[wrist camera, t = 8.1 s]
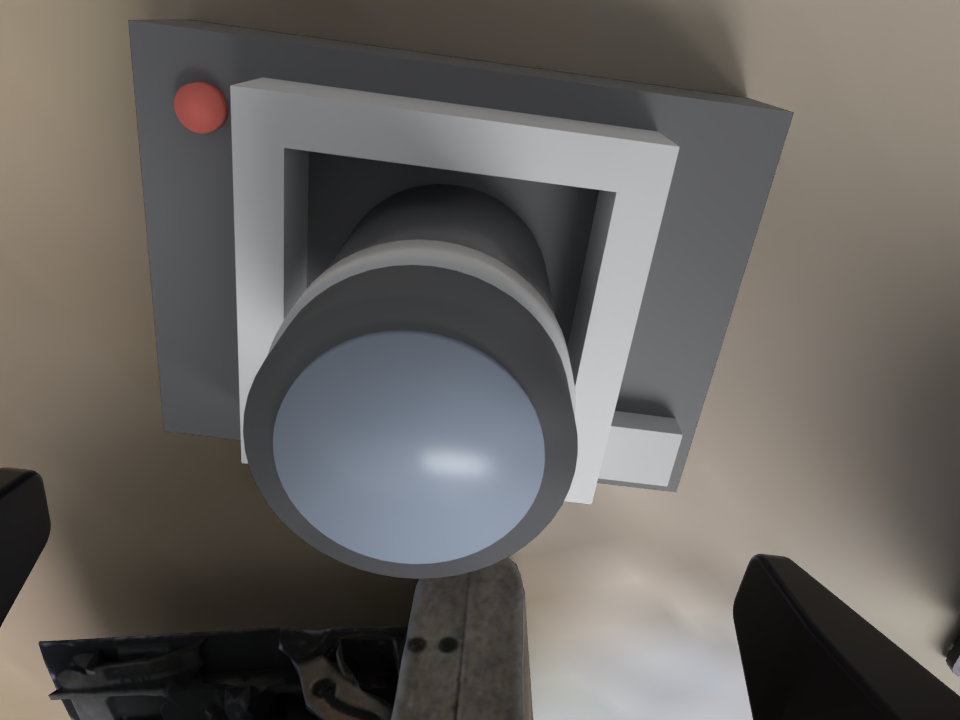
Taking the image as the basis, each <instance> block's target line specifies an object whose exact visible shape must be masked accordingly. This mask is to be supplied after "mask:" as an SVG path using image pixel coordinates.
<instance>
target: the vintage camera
mask: <svg viewBox="0 0 960 720" xmlns="http://www.w3.org/2000/svg"><path fill="white" fill-rule="evenodd" d="M39 646H40V649H41V652H42V656H43V659H44V662H45V664H46V667H47V669H48V671H49V673H50V676H51V678H52V680H53V682H54V684H55V687H56V689H57V690H56V691H54V692H53V693H51V694H50V695H49V697H50V699H51V700H59V699H61V700H62V702H63V704H64V706H65V708H66V710H67V712H68V714H69V716H70V718H71V720H533V712H532V697H531V682H530V667H529V652H528V637H527V622H526V606H525V592H524V588H523V583H522V579H521V575H520V572H519V570H518V567H517V565H516V564H515V563H514V562H513V561H512V560H511V559H510V558H509V557H507V558H505V559H503V560H501V561H499V562H497V563H495V564H492V565H490V566H487V567H484V568H481V569H479V570H476V571H472V572H468V573H464V574H460V575H456V576H448V577H441V578H424V579H419V580H418V583H417V585H416V589H415V594H414V598H413V604H412V609H411V614H410V619H409V624H408V627H335V628H328V629H322V630H301V629H288V628H261V629H245V630H229V631H210V632H192V633H180V634H165V635H146V636H129V637H112V638H96V639H80V640H60V641H40V642H39Z"/></svg>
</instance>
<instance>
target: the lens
mask: <svg viewBox="0 0 960 720" xmlns="http://www.w3.org/2000/svg"><path fill="white" fill-rule="evenodd" d="M575 411H576V392H575V385H574V379H573V373H572V368H571V364H570V359H569V354H568V349H567V346H566V342H565V339H564V336H563V333H562V330H561V328H560V326H559V324H558V322H557V320H556V318H555V312H554V307H553V302H552V297H551V292H550V286H549V281H548V276H547V271H546V266H545V262H544V258H543V255H542V252H541V250H540V247H539V245H538V243H537V241H536V239H535V237H534V236H533V234H532V233H531V231H530V230H529V228H528V227H527V226H526V224H525V223H524V222H523V221H522V220H521V219H520V217H519V216H518V215H516V214H515V213H514V212H513V211H512V210H511V209H510V208H509V207H507V206H506V205H504V204H503V203H501V202H500V201H498V200H497V199H495V198H493V197H491V196H489V195H487V194H485V193H483V192H480V191H477V190H474V189H471V188H468V187H463V186H458V185H450V184H431V185H422V186H418V187H413V188H409V189H406V190H404V191H401V192H398V193H396V194H394V195H392V196H390V197H388V198H386V199H385V200H383V201H382V202H380V203H379V204H377V205H376V206H375V207H373V208H372V209H371V210H370V211H369V212H368V213H367V214H366V215H365V216H364V217H363V218H362V219H361V221H360V222H359V223H358V224H357V226H356V227H355V228H354V230H353V231H352V233H351V234H350V236H349V237H348V239H347V240H346V242H345V243H344V245H343V246H342V248H341V249H340V250H339V252H338V253H337V255H336V256H335V258H334V259H333V261H332V262H331V264H330V265H329V267H328V268H327V270H325V271H324V272H323V273H322V274H321V275H320V276H319V277H318V278H317V279H316V280H315V281H313V282H312V283H311V285H310V286H309V287H308V288H307V290H306V291H305V292H304V293H303V295H302V296H301V297H300V298H299V300H298V301H297V303H296V304H295V305H294V307H293V308H292V310H291V311H290V312H289V314H288V315H287V317H286V318H285V320H284V321H283V323H282V325H281V326H280V328H279V330H278V331H277V333H276V335H275V337H274V339H273V342H272V344H271V347H270V349H269V352H268V355H267V358H266V359H265V361H264V362H263V364H262V366H261V367H260V369H259V371H258V373H257V374H256V376H255V378H254V381H253V383H252V386H251V388H250V391H249V393H248V397H247V401H246V406H245V411H244V422H243V437H244V447H245V453H246V457H247V461H248V464H249V468H250V471H251V473H252V476H253V478H254V480H255V483H256V485H257V487H258V489H259V490H260V492H261V494H262V496H263V497H264V499H265V501H266V502H267V504H268V505H269V506H270V507H271V509H272V510H273V511H274V513H275V514H276V515H277V516H278V518H279V519H280V520H281V521H282V522H283V523H284V524H285V525H286V526H287V527H288V528H289V529H290V530H291V531H292V532H294V533H295V534H296V535H297V536H299V537H300V538H301V539H302V540H304V541H305V542H306V543H308V544H309V545H311V546H312V547H314V548H315V549H317V550H319V551H320V552H322V553H323V554H325V555H327V556H329V557H331V558H333V559H335V560H337V561H339V562H342V563H344V564H347V565H349V566H352V567H355V568H357V569H360V570H364V571H368V572H372V573H375V574H380V575H386V576H392V577H398V578H414V579H424V578H441V577H448V576H456V575H460V574H464V573H468V572H472V571H476V570H479V569H481V568H484V567H487V566H490V565H492V564H495V563H497V562H499V561H501V560H503V559H505V558H507V557H509V556H511V555H512V554H514V553H515V552H517V551H518V550H520V549H521V548H523V547H524V546H526V545H527V544H528V543H529V542H530V541H532V540H533V539H534V538H535V537H536V536H538V535H539V534H540V533H541V532H542V530H543V529H544V528H545V527H546V526H547V525H548V524H549V523H550V522H551V521H552V519H553V518H554V516H555V515H556V513H557V512H558V510H559V509H560V507H561V506H562V504H563V502H564V500H565V498H566V496H567V494H568V492H569V490H570V487H571V483H572V480H573V477H574V474H575V469H576V462H577V455H578V435H577V429H576V423H575Z"/></svg>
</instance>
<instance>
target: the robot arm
mask: <svg viewBox="0 0 960 720" xmlns="http://www.w3.org/2000/svg"><path fill="white" fill-rule="evenodd" d="M50 527H51V523H50V516H49V511H48V506H47V500H46V495H45V489H44V484H43V480H42V478H41V476H40V475H39V474H38V473H37V472H35V471H33V470H26V469H17V468H0V627H1V625H2V623H3V621H4V619H5V618H6V616H7V614H8V612H9V610H10V608H11V607H12V605H13V603H14V601H15V599H16V598H17V596H18V594H19V592H20V590H21V588H22V587H23V585H24V583H25V581H26V579H27V578H28V576H29V574H30V572H31V570H32V568H33V567H34V565H35V563H36V561H37V559H38V558H39V556H40V554H41V552H42V550H43V548H44V547H45V545H46V543H47V540H48V537H49V534H50ZM733 618H734V624H735V629H736V635H737V640H738V645H739V650H740V655H741V660H742V665H743V671H744V676H745V681H746V686H747V691H748V696H749V702H750V707H751V712H752V717H753V720H960V696H959V695H957V694H956V693H955V692H954V691H953V690H951V689H950V688H949V687H948V686H946V685H945V684H944V683H943V682H941V681H940V680H939V679H938V678H936V677H935V676H934V675H933V674H932V673H930V672H929V671H928V670H927V669H925V668H924V667H923V666H922V665H920V664H919V663H918V662H917V661H915V660H914V659H913V658H912V657H911V656H909V655H908V654H907V653H906V652H904V651H903V650H902V649H901V648H899V647H898V646H897V645H896V644H895V643H893V642H892V641H891V640H890V639H888V638H887V637H886V636H885V635H883V634H882V633H881V632H880V631H878V630H877V629H876V628H875V627H874V626H872V625H871V624H870V623H869V622H867V621H866V620H865V619H864V618H862V617H861V616H860V615H859V614H857V613H856V612H855V611H854V610H853V609H851V608H850V607H849V606H848V605H846V604H845V603H844V602H843V601H841V600H840V599H839V598H838V597H836V596H835V595H834V594H833V593H832V592H830V591H829V590H828V589H827V588H825V587H824V586H823V585H822V584H820V583H819V582H818V581H817V580H815V579H814V578H813V577H812V576H811V575H809V574H808V573H807V572H806V571H804V570H803V569H802V568H801V567H799V566H798V565H797V564H796V563H794V562H793V561H792V560H791V559H789V558H787V557H783V556H775V555H767V554H757V555H755V556H753V557H752V558H751V560H750V562H749V564H748V566H747V569H746V572H745V574H744V577H743V579H742V582H741V584H740V587H739V590H738V592H737V595H736V597H735V601H734V606H733ZM946 662H947V664H948V666H949V667H950V669H951V670H952V672H953V673H954V674H955V675H956V676H960V636H959V638H958V640H957V641H956V643H955V645H954V646H953V648H952V650H951V651H950V653H949V655H948V656H947V659H946Z"/></svg>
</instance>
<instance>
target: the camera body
mask: <svg viewBox="0 0 960 720" xmlns="http://www.w3.org/2000/svg"><path fill="white" fill-rule="evenodd" d="M128 22H129V34H130V45H131V57H132V68H133V80H134V91H135V103H136V114H137V126H138V137H139V149H140V160H141V172H142V183H143V195H144V206H145V218H146V229H147V241H148V252H149V264H150V275H151V287H152V298H153V310H154V321H155V333H156V344H157V356H158V367H159V379H160V390H161V402H162V413H163V425H164V431H167V432H175V433H184V434H192V435H200V436H209V437H217V438H225V439H234V440H241V463H246V464H248V461H247V457H246V453H245V447H244V437H243V422H244V411H245V406H246V401H247V397H248V393H249V391H250V388H251V386H252V383H253V381H254V378H255V376H256V374H257V373H258V371H259V369H260V367H261V366H262V364H263V362H264V361H265V359H266V358H267V355H268V352H269V349H270V347H271V344H272V342H273V339H274V337H275V335H276V333H277V331H278V330H279V328H280V326H281V325H282V323H283V321H284V320H285V318H286V317H287V315H288V314H289V312H290V311H291V310H292V308H293V307H294V305H295V304H296V303H297V301H298V300H299V298H300V297H301V296H302V295H303V293H304V292H305V291H306V290H307V288H308V287H309V286H310V285H311V283H312V282H313V281H315V280H316V279H317V278H318V277H319V276H320V275H321V274H322V273H323V272H324V271H325V270H327V268H328V267H329V265H330V264H331V262H332V261H333V259H334V258H335V256H336V255H337V253H338V252H339V250H340V249H341V248H342V246H343V245H344V243H345V242H346V240H347V239H348V237H349V236H350V234H351V233H352V231H353V230H354V228H355V227H356V226H357V224H358V223H359V222H360V221H361V219H362V218H363V217H364V216H365V215H366V214H367V213H368V212H369V211H370V210H371V209H372V208H373V207H375V206H376V205H377V204H379V203H380V202H382V201H383V200H385V199H386V198H388V197H390V196H392V195H394V194H396V193H398V192H401V191H404V190H406V189H409V188H413V187H418V186H422V185H431V184H450V185H458V186H463V187H468V188H471V189H474V190H477V191H480V192H483V193H485V194H487V195H489V196H491V197H493V198H495V199H497V200H498V201H500V202H501V203H503V204H504V205H506V206H507V207H509V208H510V209H511V210H512V211H513V212H514V213H515V214H516V215H518V216H519V217H520V219H521V220H522V221H523V222H524V223H525V224H526V226H527V227H528V228H529V230H530V231H531V233H532V234H533V236H534V237H535V239H536V241H537V243H538V245H539V247H540V250H541V252H542V255H543V258H544V262H545V266H546V271H547V276H548V281H549V286H550V292H551V297H552V302H553V307H554V312H555V318H556V320H557V322H558V324H559V326H560V328H561V330H562V333H563V336H564V339H565V342H566V346H567V349H568V354H569V359H570V364H571V368H572V373H573V379H574V385H575V392H576V411H575V423H576V429H577V435H578V455H577V462H576V469H575V474H574V477H573V480H572V483H571V487H570V490H569V492H568V494H567V496H566V498H565V500H564V501H568V502H576V503H585V504H592V501H593V497H594V493H595V489H596V485H597V483H603V484H611V485H620V486H628V487H636V488H645V489H653V490H662V491H670V492H676V491H677V488H678V484H679V481H680V478H681V475H682V472H683V468H684V465H685V462H686V459H687V455H688V452H689V449H690V446H691V443H692V439H693V436H694V433H695V430H696V426H697V423H698V420H699V417H700V413H701V410H702V407H703V404H704V401H705V397H706V394H707V391H708V388H709V384H710V381H711V378H712V375H713V372H714V368H715V365H716V362H717V359H718V355H719V352H720V349H721V346H722V343H723V339H724V336H725V333H726V330H727V326H728V323H729V320H730V317H731V313H732V310H733V307H734V304H735V301H736V297H737V294H738V291H739V288H740V284H741V281H742V278H743V275H744V272H745V268H746V265H747V262H748V259H749V255H750V252H751V249H752V246H753V243H754V239H755V236H756V233H757V230H758V226H759V223H760V220H761V217H762V213H763V210H764V207H765V204H766V201H767V197H768V194H769V191H770V188H771V184H772V181H773V178H774V175H775V172H776V168H777V165H778V162H779V159H780V155H781V152H782V149H783V146H784V142H785V139H786V136H787V133H788V130H789V126H790V123H791V120H792V117H793V113H794V112H791V111H787V110H784V109H781V108H778V107H775V106H772V105H768V104H765V103H762V102H759V101H756V100H753V99H749V98H744V97H737V96H729V95H722V94H715V93H708V92H701V91H694V90H686V89H679V88H672V87H665V86H658V85H651V84H643V83H636V82H629V81H622V80H615V79H608V78H600V77H593V76H586V75H579V74H572V73H565V72H557V71H550V70H543V69H536V68H529V67H522V66H514V65H507V64H500V63H493V62H486V61H479V60H471V59H464V58H457V57H450V56H443V55H436V54H428V53H421V52H414V51H407V50H400V49H393V48H385V47H378V46H371V45H364V44H357V43H350V42H342V41H335V40H328V39H321V38H314V37H307V36H299V35H292V34H285V33H278V32H271V31H264V30H256V29H249V28H242V27H235V26H228V25H221V24H213V23H206V22H199V21H192V20H128Z"/></svg>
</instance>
